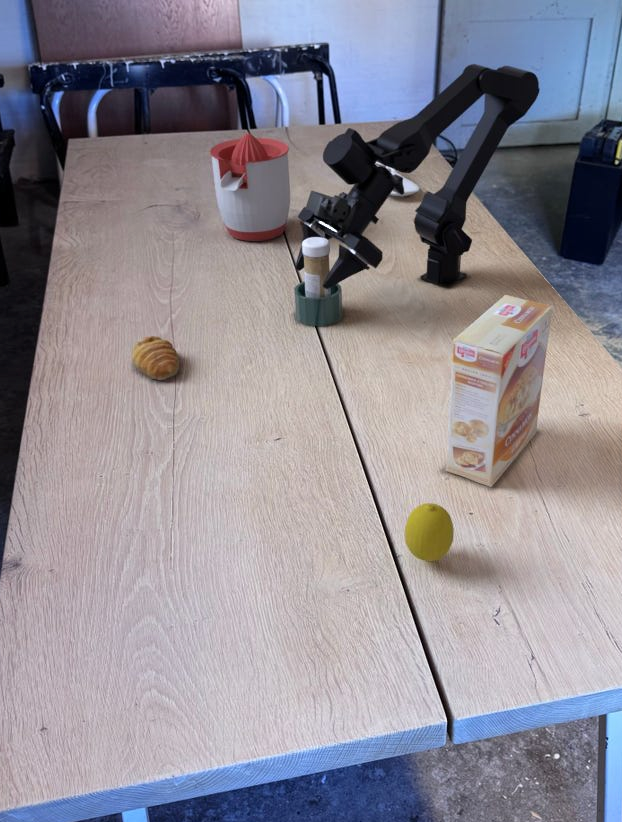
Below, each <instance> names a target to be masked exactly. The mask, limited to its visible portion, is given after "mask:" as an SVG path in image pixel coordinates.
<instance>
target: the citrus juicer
mask: <svg viewBox="0 0 622 822" xmlns="http://www.w3.org/2000/svg"><path fill="white" fill-rule="evenodd" d="M289 151H290V147H289V146H288V144H286V143H285V142H283V141H282V140H281V141H280V140H278V139H272V138H266V137H265V138H262V137H255V136H254V135H253V134H251V132H247V133H245V134H244V135H243V136H242V137H241V138H237V139H231V140H226V141H222V142H220V143H217V144H215V145H213V146H212V147H211V148H210V150H209V155H210V156H211V163H212V164H211V165H212V171H213V180H214V187H215V188H214V189H215V196H216V202H217V206H218V210H219V214H220V216H221V218H222V221H223V225H224V226H225V229H226V230H227V232H228V234H229V235H230V236H231V237H232V238H234V239H237V240H241V241H248V242H249V241H250V242H251V241H252V242H257V241H259V242H266V241H268V240H271V239H274V238H276V237H279V236H280V235H282V234H283V233H284V231H285V229H286V227H287V223H288V218H289V212H290V208H291V207H290V206H291V184H290V183H291V182H290V169H289Z"/></svg>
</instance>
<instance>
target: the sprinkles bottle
mask: <svg viewBox="0 0 622 822" xmlns="http://www.w3.org/2000/svg"><path fill="white" fill-rule="evenodd" d="M302 241H303V240H302ZM302 241H301V245H302V252H303V256H304V268H303V269H304V270H303V273H304V275H303V276H304V281H305V292H306V297H312V298H322V297H327V296H331V287H330V288H329V289H325V288H324V287H323V286H322V285H323V283H324V281H325V279H326V277H327V275H328V274H329V272H330V252H331V243H330V240H327V239H325V238H324V237H323V238H322V237H311V238H308V239H305V240H304V241H303V242H302Z"/></svg>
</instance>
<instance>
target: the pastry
mask: <svg viewBox="0 0 622 822" xmlns="http://www.w3.org/2000/svg"><path fill="white" fill-rule="evenodd" d="M131 356H132V359H131V360H132V361H131V362H132V363H133V365H134V366H135V367H136V369H137V370H138V371H139V372H140V373H142V374H144V376H147V377H149V379H151V380H152V379H153V380H157V381H162V380H165V379H168V378H172V377H174V376H176V375H177V374H178V372H179V370H180V360H179V353H178V352H177V350H176V349H175V348H174V345H173V344H172V343H171V342H170V341H169V340H167V339H162V338H161V337H160V336H156V335H150V336H146V337H144V338H142V339H141V340H140V341H138V342H136V344H135V345H134V346H133V348H132V351H131Z"/></svg>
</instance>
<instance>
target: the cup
mask: <svg viewBox="0 0 622 822" xmlns="http://www.w3.org/2000/svg"><path fill="white" fill-rule="evenodd" d="M293 291H294V304H295V305H294V306H295V319H296V320H297V321H298V322H299V323H300V324H303V325H306V326H311V327H325V326H330V325H333V324H334V325H335V323H336V324H337V322H339V321H341V319H342V318H343V291H342V286H341V285H340V284H339V283H337V284H336V285H334V286H332V287H331V296H327V297H322V298H312V297H306V292H305V280H303V281H302V282H300V283H298V284H296V285H295V287H294V290H293Z"/></svg>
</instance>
